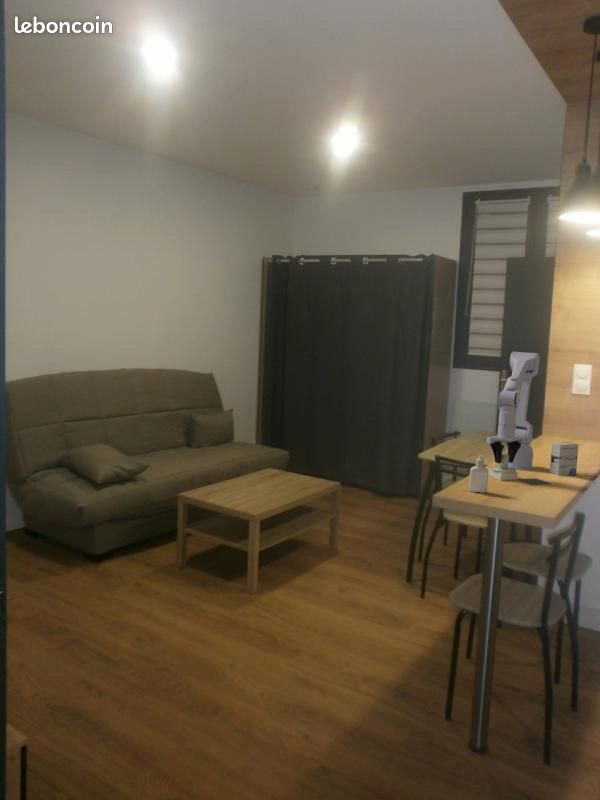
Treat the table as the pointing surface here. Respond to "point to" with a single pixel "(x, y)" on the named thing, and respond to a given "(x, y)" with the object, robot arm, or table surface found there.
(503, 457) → the lid
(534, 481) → the mat
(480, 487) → the eye dropper bottle
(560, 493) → the table surface
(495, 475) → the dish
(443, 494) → the table surface
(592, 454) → the table surface
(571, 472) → the ink box
